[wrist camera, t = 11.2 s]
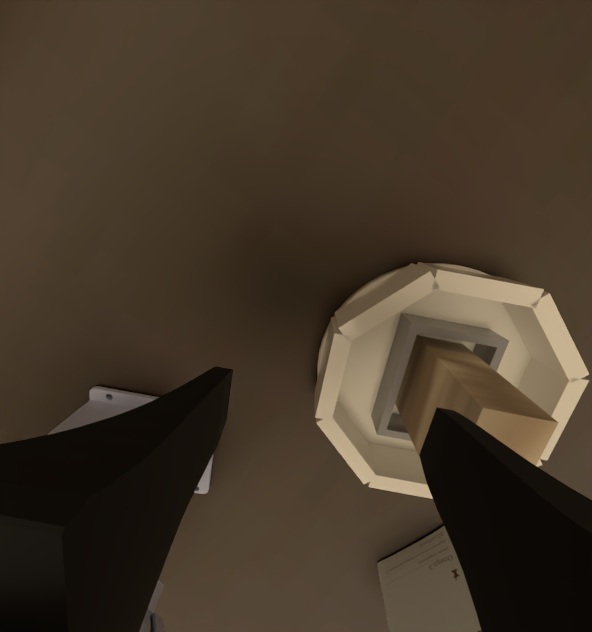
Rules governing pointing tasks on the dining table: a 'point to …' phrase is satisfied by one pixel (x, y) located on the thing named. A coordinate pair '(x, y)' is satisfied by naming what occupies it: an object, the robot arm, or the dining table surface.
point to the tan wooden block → (469, 398)
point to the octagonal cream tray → (444, 324)
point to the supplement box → (427, 588)
